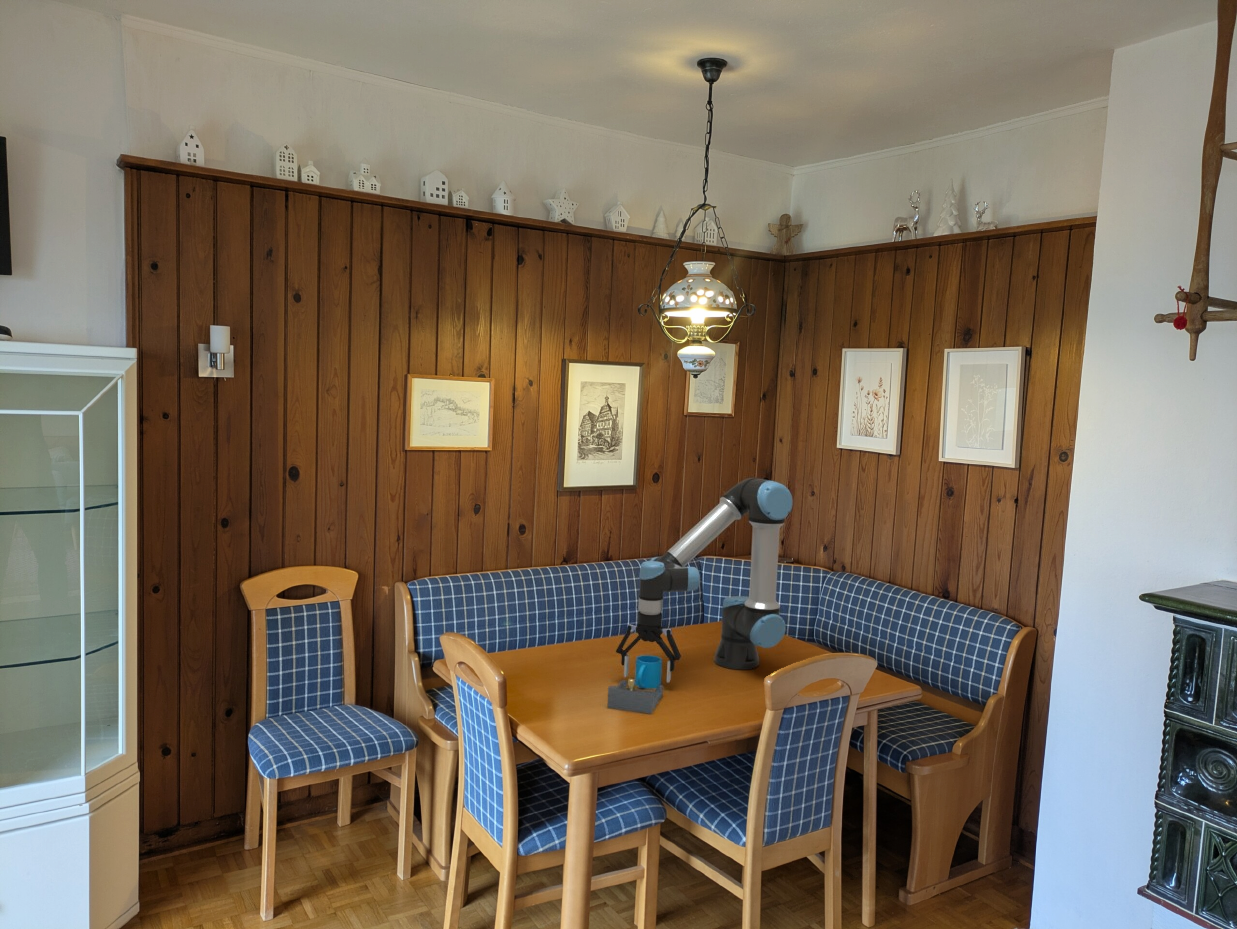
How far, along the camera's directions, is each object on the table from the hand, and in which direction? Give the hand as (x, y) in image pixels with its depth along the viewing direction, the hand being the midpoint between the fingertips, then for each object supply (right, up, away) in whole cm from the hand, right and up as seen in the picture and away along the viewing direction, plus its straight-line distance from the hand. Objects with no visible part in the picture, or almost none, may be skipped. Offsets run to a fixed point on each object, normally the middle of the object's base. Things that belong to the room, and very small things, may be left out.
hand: (647, 678), depth 273 cm
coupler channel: (-4, -4, -13) cm, 14 cm away
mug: (-1, -3, 0) cm, 3 cm away
